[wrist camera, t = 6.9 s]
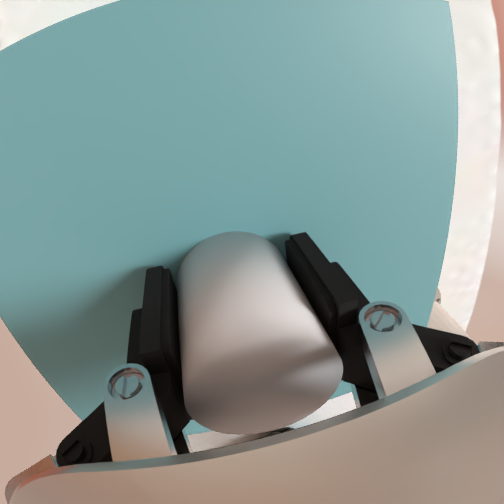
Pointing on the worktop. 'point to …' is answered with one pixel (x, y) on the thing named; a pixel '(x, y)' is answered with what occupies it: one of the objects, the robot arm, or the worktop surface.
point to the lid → (222, 187)
